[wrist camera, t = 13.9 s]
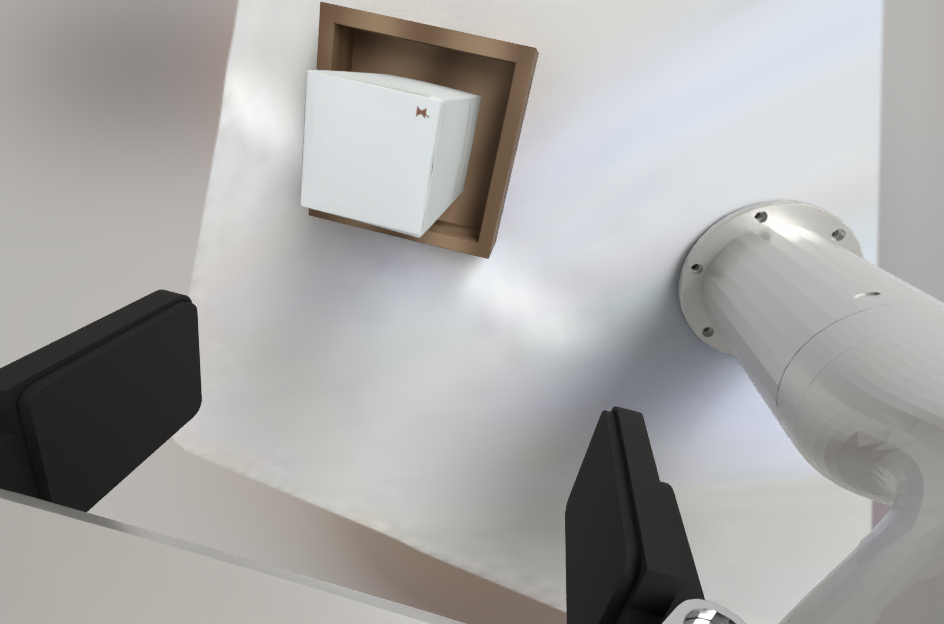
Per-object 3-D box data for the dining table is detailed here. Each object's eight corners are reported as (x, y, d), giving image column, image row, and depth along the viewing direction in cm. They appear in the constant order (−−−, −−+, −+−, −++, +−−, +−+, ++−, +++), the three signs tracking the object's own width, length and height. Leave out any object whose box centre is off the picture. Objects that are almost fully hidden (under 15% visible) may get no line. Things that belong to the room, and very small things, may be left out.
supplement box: (385, 71, 36) (303, 61, 24) (484, 95, 35) (449, 97, 24) (372, 173, 39) (295, 207, 27) (463, 196, 38) (423, 241, 27)
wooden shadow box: (538, 53, 35) (535, 48, 30) (495, 242, 41) (488, 258, 36) (347, 12, 35) (320, 1, 31) (333, 203, 41) (308, 215, 37)
